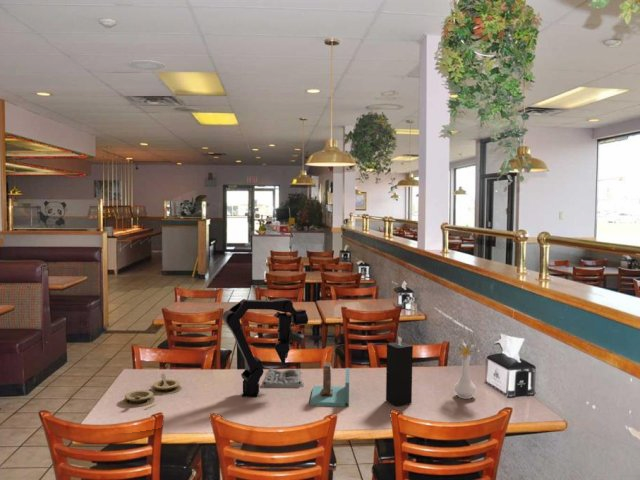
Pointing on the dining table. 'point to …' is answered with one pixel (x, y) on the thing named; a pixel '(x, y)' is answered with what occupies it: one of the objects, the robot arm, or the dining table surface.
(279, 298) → the robot arm
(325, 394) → the photo frame
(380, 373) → the dining table surface
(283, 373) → the wall plaque
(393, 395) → the black square bottle
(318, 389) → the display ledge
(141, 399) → the tableware set
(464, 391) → the flower vase
